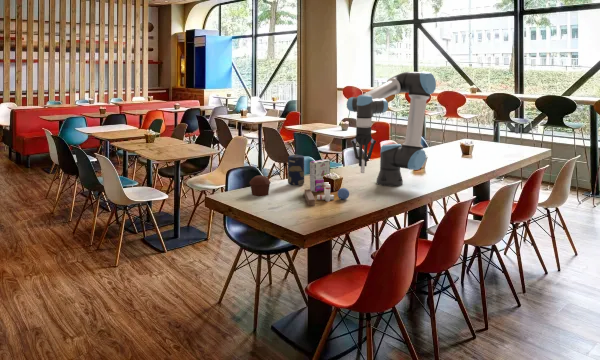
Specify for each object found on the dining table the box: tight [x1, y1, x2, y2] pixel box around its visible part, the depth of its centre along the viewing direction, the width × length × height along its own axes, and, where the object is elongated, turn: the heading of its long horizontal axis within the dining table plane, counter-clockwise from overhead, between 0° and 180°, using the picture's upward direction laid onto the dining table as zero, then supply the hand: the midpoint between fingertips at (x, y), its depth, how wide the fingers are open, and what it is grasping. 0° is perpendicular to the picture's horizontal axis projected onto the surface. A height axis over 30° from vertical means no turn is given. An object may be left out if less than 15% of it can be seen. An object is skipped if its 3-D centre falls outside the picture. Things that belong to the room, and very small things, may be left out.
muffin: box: [249, 174, 272, 197], centre depth 279 cm, size 12×11×10 cm
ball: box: [337, 187, 350, 201], centre depth 269 cm, size 6×6×6 cm
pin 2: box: [325, 183, 331, 202], centre depth 266 cm, size 2×2×8 cm
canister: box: [287, 153, 305, 187], centre depth 301 cm, size 10×10×18 cm
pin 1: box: [323, 182, 329, 195], centre depth 271 cm, size 2×2×8 cm
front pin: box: [316, 194, 335, 201], centre depth 269 cm, size 2×2×8 cm
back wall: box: [304, 188, 316, 207], centre depth 268 cm, size 3×22×3 cm, turn 5°
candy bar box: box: [309, 159, 331, 193], centre depth 289 cm, size 11×5×16 cm, turn 129°
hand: (362, 172), depth 268 cm, fingers closed
